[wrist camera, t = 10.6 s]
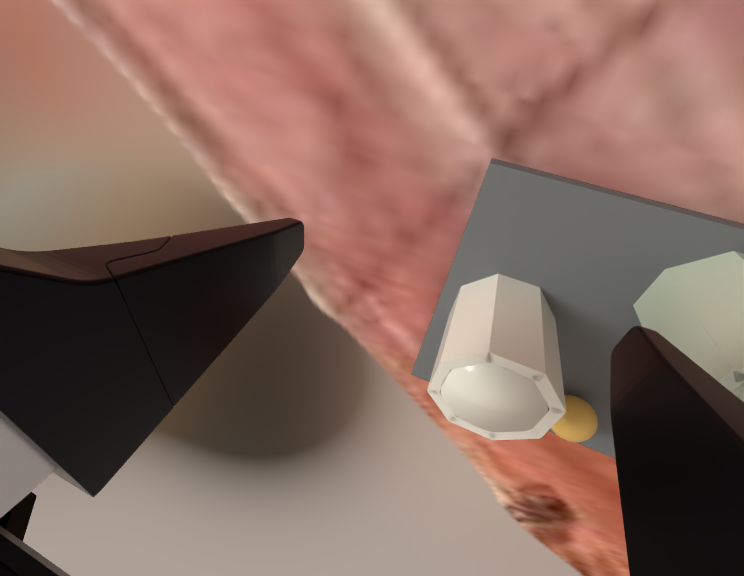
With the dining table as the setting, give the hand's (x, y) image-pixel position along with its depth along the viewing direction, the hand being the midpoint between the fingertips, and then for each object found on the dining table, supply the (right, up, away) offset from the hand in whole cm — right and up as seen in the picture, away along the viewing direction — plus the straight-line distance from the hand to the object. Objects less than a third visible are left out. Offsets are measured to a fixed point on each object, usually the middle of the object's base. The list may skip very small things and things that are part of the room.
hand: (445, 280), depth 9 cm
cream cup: (+6, -2, +13) cm, 14 cm away
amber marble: (+12, -9, +13) cm, 20 cm away
